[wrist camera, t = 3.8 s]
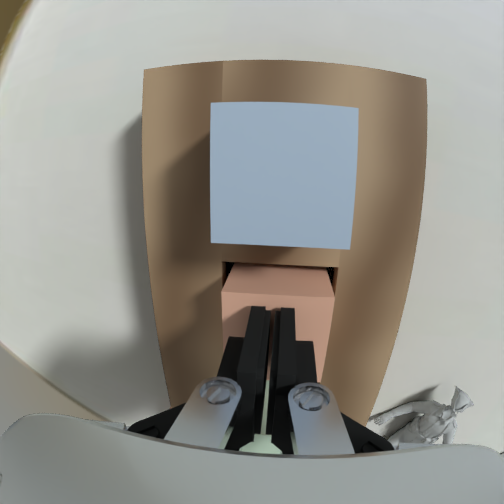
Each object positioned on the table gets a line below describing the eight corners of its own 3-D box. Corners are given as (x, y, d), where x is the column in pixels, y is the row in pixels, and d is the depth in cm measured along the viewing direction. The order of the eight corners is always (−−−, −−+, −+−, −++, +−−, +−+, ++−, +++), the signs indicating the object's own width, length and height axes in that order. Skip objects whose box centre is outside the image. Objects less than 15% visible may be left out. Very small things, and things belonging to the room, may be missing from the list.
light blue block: (331, 124, 13) (358, 108, 8) (327, 213, 14) (349, 249, 9) (239, 120, 13) (210, 102, 8) (238, 209, 15) (211, 242, 9)
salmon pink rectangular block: (320, 250, 16) (335, 297, 11) (313, 319, 18) (320, 382, 12) (241, 247, 17) (221, 291, 11) (241, 315, 18) (224, 376, 13)
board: (396, 93, 14) (426, 78, 10) (347, 413, 21) (354, 452, 17) (174, 85, 15) (143, 69, 11) (193, 403, 22) (179, 440, 18)
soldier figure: (336, 447, 24) (408, 391, 16) (369, 420, 26) (439, 356, 19) (384, 500, 19) (475, 463, 12) (413, 468, 22) (498, 419, 14)
